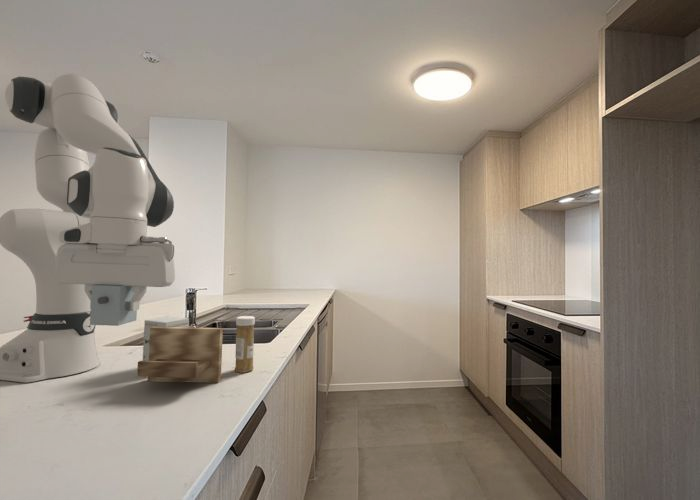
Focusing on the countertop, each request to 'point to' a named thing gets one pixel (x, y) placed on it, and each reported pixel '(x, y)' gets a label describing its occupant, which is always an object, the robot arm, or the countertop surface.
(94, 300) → the cabinet box
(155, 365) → the wall board
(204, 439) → the countertop surface
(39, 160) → the robot arm
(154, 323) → the supplement box
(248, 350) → the sprinkles bottle
